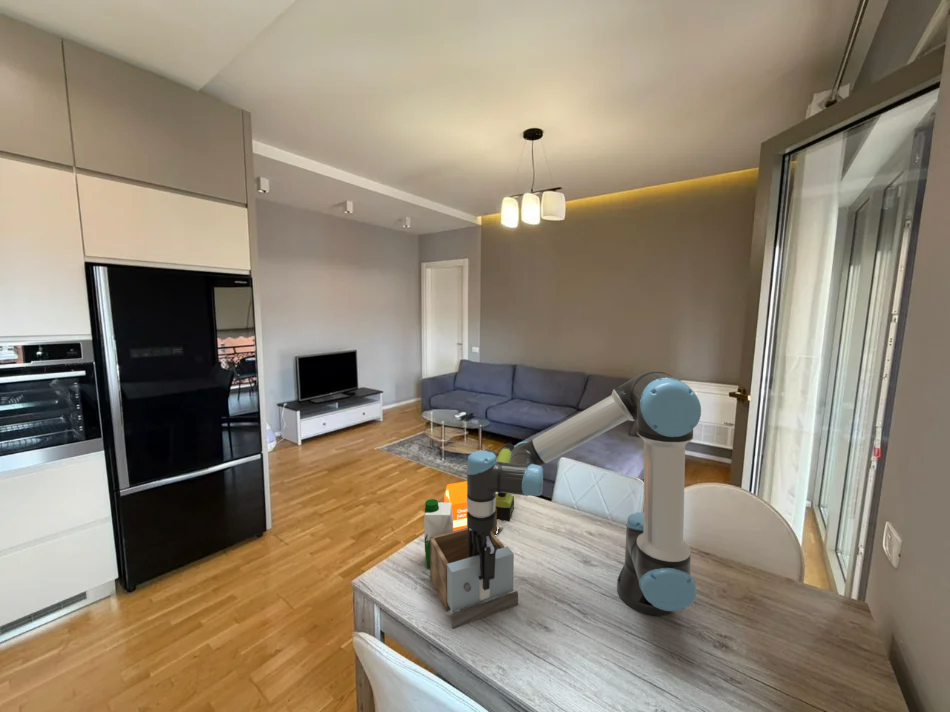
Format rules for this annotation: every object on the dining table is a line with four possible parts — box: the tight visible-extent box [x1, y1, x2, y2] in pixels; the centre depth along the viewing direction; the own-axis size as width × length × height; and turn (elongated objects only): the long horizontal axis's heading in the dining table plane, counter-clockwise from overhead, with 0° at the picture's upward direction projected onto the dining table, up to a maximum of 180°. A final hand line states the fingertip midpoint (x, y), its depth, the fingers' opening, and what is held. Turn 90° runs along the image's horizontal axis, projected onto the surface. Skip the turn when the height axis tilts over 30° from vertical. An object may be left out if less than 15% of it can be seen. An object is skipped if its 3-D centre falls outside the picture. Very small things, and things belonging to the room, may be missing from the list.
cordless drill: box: [496, 442, 515, 522], centre depth 154 cm, size 23×7×25 cm, turn 164°
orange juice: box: [443, 480, 468, 531], centre depth 135 cm, size 8×9×20 cm
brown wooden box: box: [429, 528, 519, 629], centre depth 110 cm, size 20×20×13 cm
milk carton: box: [423, 498, 453, 569], centre depth 122 cm, size 9×9×20 cm
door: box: [447, 546, 515, 613], centre depth 103 cm, size 5×18×11 cm, turn 114°
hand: (481, 592), depth 104 cm, fingers closed on door, 3 cm apart
